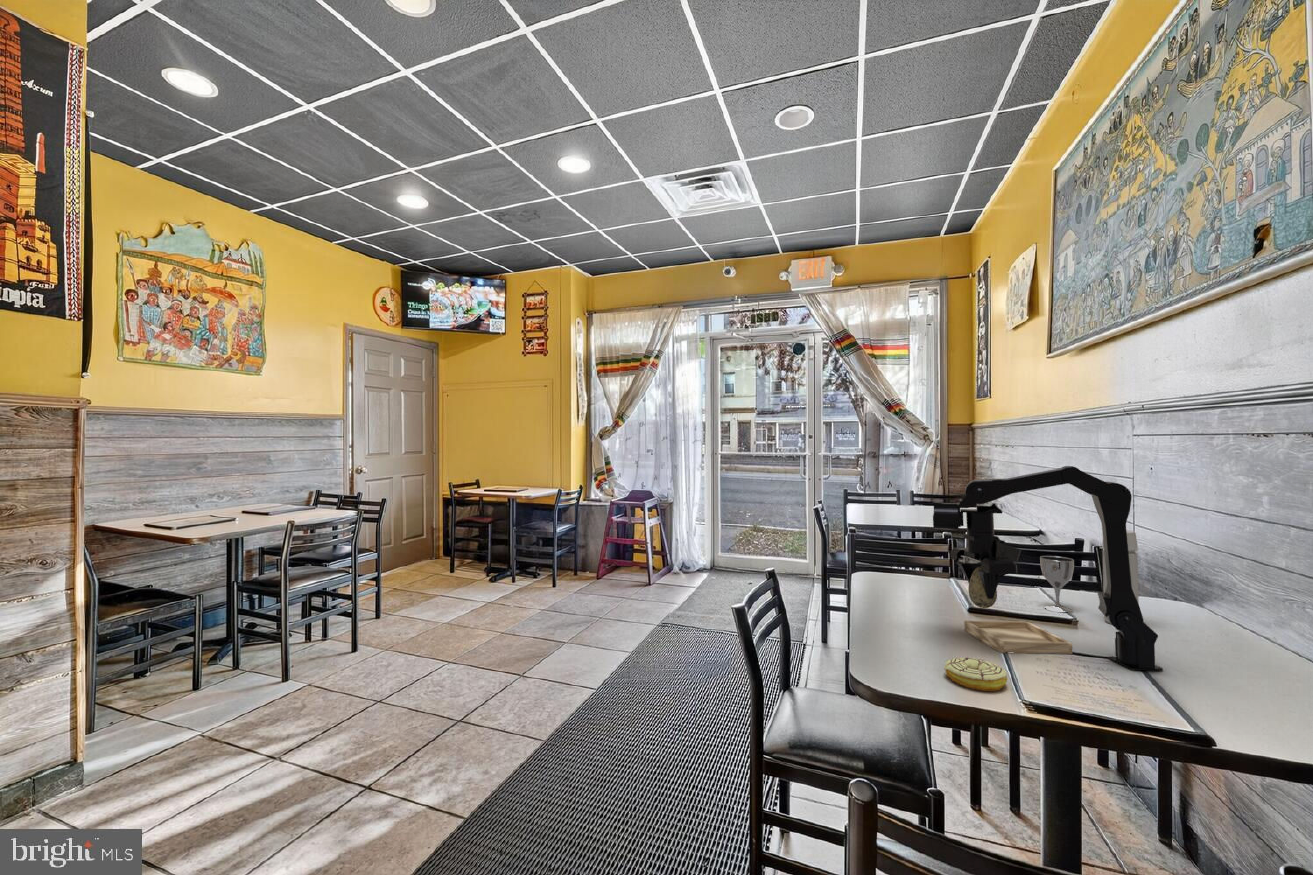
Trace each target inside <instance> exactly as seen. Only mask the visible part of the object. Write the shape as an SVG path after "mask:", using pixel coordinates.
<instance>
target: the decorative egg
mask: <svg viewBox="0 0 1313 875" xmlns="http://www.w3.org/2000/svg"><path fill="white" fill-rule="evenodd" d="M978 570H983V569H982V567H981V566H980V567H978V568H976V569H975V570H974V572H973V573H972V576H971V578H970V582H969V583H968V597H969V599H970V600H971V602H972V603H973V605H975V606H976V607H978V608H981V609H988V608H991V607H993V606H994V605H995V603H996V602H997V598H998V591H997V589H996V592H995V595H994V598H993V599H988V598H987V595H986V593H985V590H984V587H983V584H982V581H981V578H980V576H979V573H978Z"/></svg>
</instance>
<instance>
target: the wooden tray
mask: <svg viewBox="0 0 1313 875" xmlns="http://www.w3.org/2000/svg"><path fill="white" fill-rule="evenodd" d="M963 621H964V624H963V625H964V631H966V632H967V633H968V634H970V635H972V636H973V637H975V638H976V639H978V640H980V641H981V642H983V643H984V644H985V645H987V646H989V647H991V648H992V649H994V650H995V651H997V652H998V653H1000V654H1006V653H1005V652H1014V653H1013V654H1032V653H1061V654H1060V655H1073V643H1072V642H1069V641H1068V640H1065V639H1063V637H1062V638H1061V637H1059V636H1057V635H1055V634H1053V633H1051V632H1049V631H1047V630H1045V629H1043V628H1042V627H1039V626H1037V625H1036V624H1033V623H1031V622H1029V621H1016V620H1015V621H1012V620H1011V621H1010V620H1009V621H1008V620H1005V621H1003V620H963Z"/></svg>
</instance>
